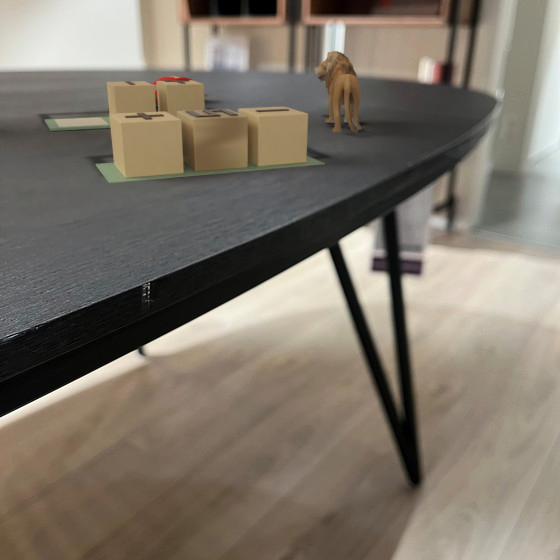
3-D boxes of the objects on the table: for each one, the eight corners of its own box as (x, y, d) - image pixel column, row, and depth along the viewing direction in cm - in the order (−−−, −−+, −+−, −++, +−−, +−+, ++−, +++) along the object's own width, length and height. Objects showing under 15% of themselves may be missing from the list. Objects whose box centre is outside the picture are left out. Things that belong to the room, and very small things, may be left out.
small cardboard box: (195, 172, 50) (193, 117, 48) (178, 160, 54) (176, 109, 52) (248, 167, 52) (248, 115, 50) (228, 156, 56) (227, 107, 54)
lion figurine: (309, 118, 81) (312, 49, 77) (346, 118, 82) (350, 50, 78) (336, 137, 68) (341, 56, 64) (379, 137, 69) (386, 57, 65)
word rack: (50, 131, 67) (44, 87, 65) (44, 121, 73) (39, 81, 71) (225, 122, 76) (224, 83, 74) (208, 114, 82) (207, 78, 80)
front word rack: (109, 186, 46) (103, 124, 44) (95, 167, 52) (89, 111, 50) (325, 166, 54) (328, 113, 52) (292, 152, 60) (293, 103, 58)
